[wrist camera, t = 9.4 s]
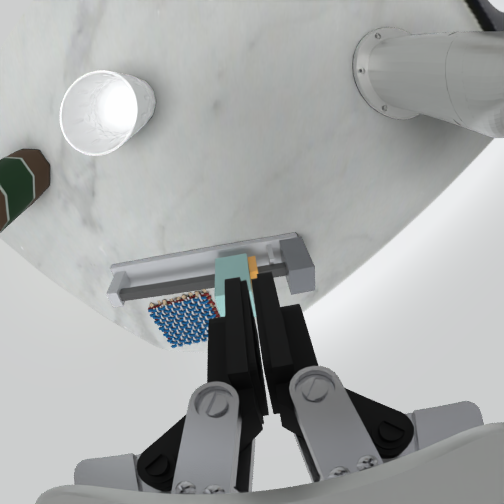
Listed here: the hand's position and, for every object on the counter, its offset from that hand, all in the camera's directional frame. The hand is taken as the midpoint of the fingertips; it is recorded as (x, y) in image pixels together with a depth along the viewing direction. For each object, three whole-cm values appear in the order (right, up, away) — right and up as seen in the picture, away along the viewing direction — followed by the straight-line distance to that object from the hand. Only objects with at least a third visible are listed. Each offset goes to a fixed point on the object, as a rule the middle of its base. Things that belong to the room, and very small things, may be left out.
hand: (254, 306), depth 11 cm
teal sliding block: (-2, 0, +28) cm, 28 cm away
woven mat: (-10, -9, +37) cm, 40 cm away
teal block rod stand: (-7, +1, +31) cm, 32 cm away
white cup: (-14, +19, +19) cm, 30 cm away
